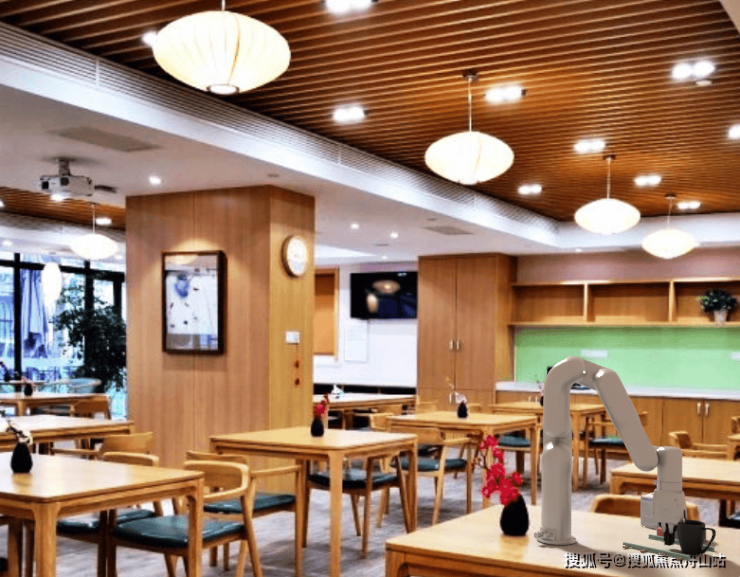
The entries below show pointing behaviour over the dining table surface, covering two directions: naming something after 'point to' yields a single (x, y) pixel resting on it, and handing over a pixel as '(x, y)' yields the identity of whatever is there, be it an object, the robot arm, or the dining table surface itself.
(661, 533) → the die
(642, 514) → the light bulb box
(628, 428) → the robot arm
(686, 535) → the mug
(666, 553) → the track
